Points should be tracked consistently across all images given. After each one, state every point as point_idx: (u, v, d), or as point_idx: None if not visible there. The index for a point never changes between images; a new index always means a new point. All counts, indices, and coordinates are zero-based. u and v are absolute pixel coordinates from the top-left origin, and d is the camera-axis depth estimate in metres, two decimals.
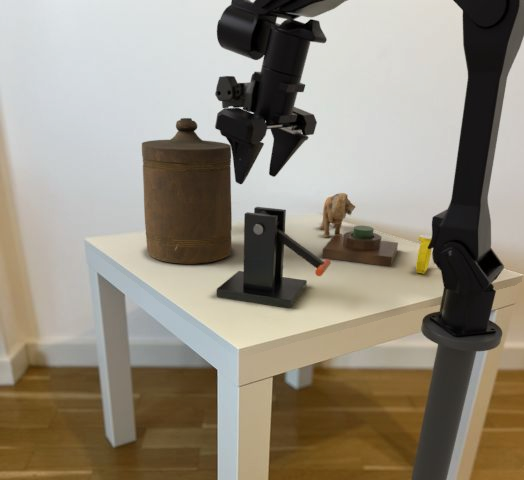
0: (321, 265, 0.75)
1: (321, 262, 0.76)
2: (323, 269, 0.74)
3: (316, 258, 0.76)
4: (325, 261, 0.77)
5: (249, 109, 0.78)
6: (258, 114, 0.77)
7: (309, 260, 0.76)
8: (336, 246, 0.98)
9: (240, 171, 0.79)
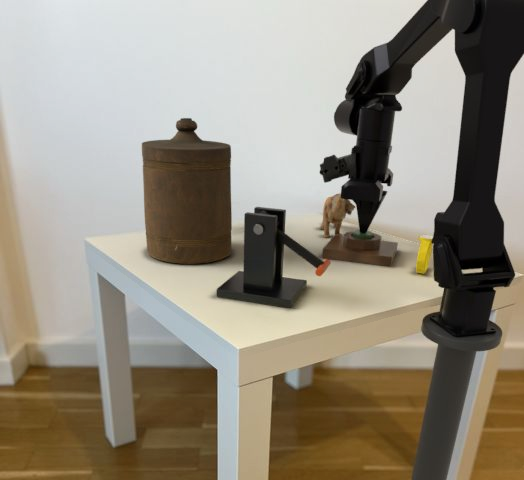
0: (321, 265, 0.75)
1: (321, 262, 0.76)
2: (323, 269, 0.74)
3: (316, 258, 0.76)
4: (325, 261, 0.77)
5: (355, 177, 0.91)
6: (364, 179, 0.91)
7: (309, 260, 0.76)
8: (336, 246, 0.98)
9: (365, 223, 0.96)
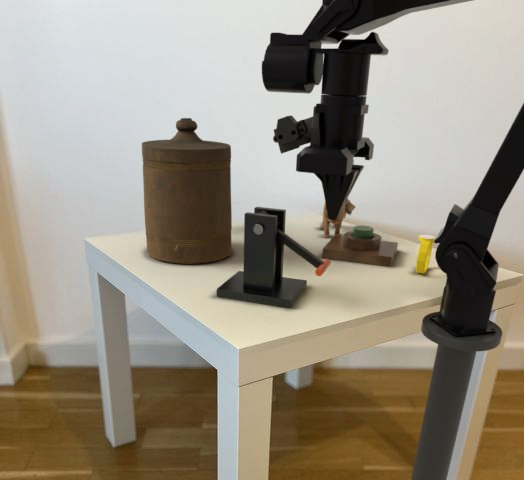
0: (321, 265, 0.75)
1: (321, 262, 0.76)
2: (323, 269, 0.74)
3: (316, 258, 0.76)
4: (325, 261, 0.77)
5: (318, 145, 0.70)
6: None
7: (309, 260, 0.76)
8: (336, 246, 0.98)
9: (335, 206, 0.74)
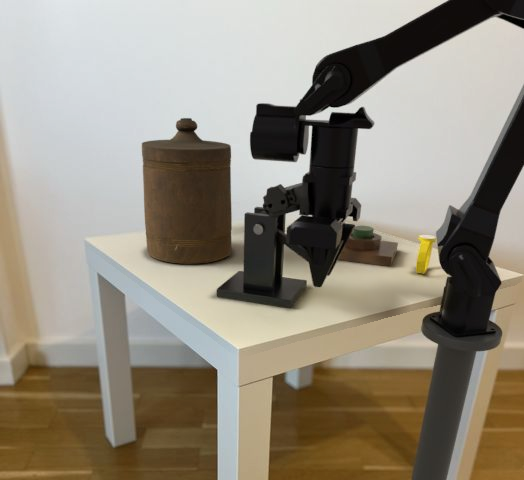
0: None
1: None
2: None
3: None
4: None
5: (307, 213, 0.71)
6: (320, 215, 0.70)
7: None
8: None
9: (320, 275, 0.73)
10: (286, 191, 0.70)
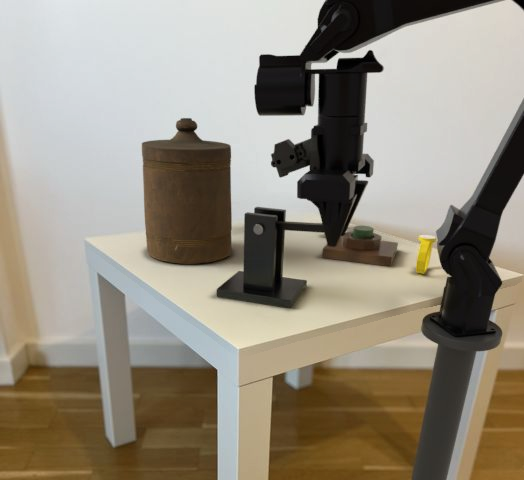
0: None
1: None
2: None
3: None
4: None
5: (318, 167, 0.68)
6: (331, 169, 0.67)
7: (320, 230, 0.73)
8: (336, 246, 0.98)
9: (334, 233, 0.70)
10: (295, 146, 0.67)
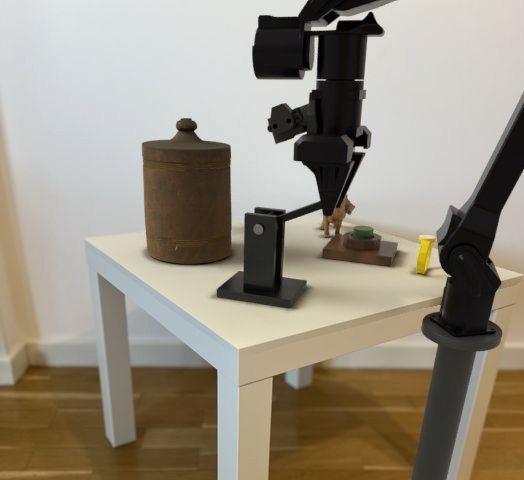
0: None
1: None
2: None
3: None
4: None
5: (315, 133, 0.66)
6: None
7: (317, 208, 0.72)
8: (336, 246, 0.98)
9: (330, 201, 0.68)
10: (292, 110, 0.66)
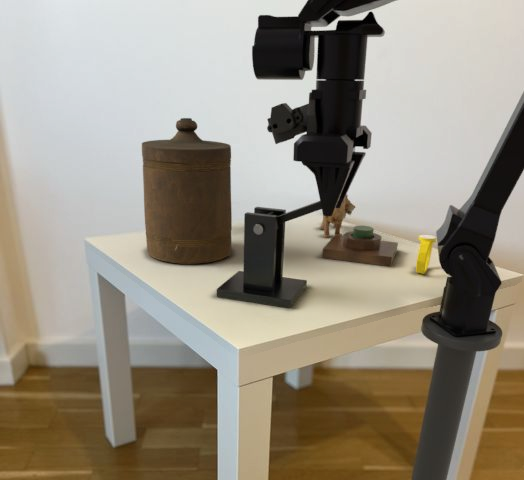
0: None
1: None
2: None
3: None
4: None
5: (315, 133, 0.66)
6: None
7: (317, 208, 0.72)
8: (336, 246, 0.98)
9: (330, 201, 0.68)
10: (292, 110, 0.66)
